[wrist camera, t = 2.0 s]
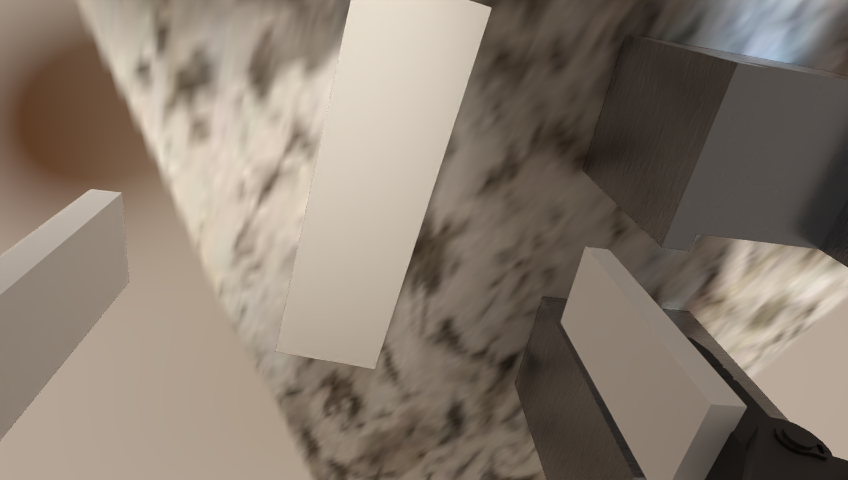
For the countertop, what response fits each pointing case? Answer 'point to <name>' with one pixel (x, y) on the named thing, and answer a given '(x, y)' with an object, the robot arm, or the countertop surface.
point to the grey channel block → (724, 147)
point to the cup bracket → (590, 401)
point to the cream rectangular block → (376, 171)
